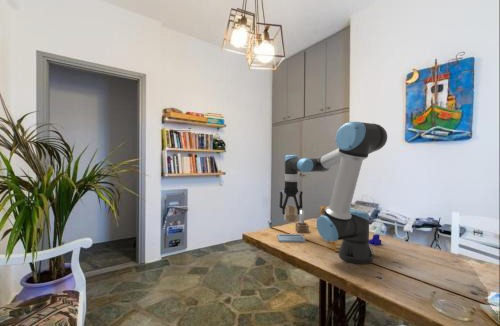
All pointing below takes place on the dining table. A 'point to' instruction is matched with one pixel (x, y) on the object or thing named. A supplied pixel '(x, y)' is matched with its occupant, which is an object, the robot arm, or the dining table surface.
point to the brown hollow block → (302, 228)
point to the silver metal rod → (301, 217)
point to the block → (291, 214)
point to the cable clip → (375, 240)
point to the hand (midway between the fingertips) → (290, 219)
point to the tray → (290, 238)
